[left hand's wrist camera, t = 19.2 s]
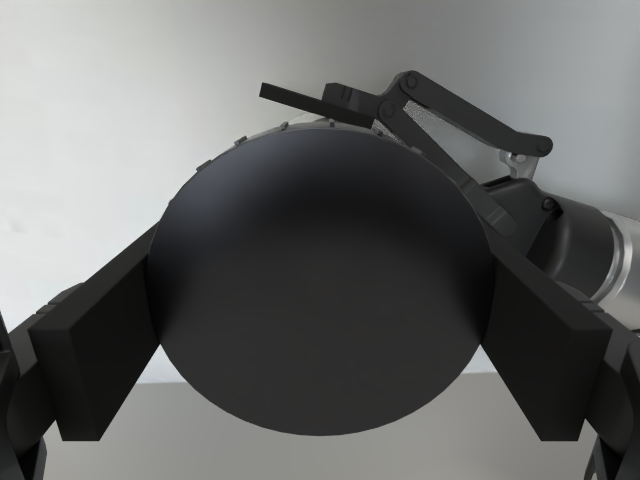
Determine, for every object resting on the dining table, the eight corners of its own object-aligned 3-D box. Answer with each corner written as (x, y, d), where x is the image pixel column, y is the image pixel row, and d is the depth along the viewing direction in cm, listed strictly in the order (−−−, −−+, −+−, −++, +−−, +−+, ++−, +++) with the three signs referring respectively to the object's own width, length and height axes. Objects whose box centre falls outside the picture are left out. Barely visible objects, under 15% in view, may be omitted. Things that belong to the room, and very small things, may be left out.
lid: (205, 412, 14) (191, 451, 12) (123, 143, 10) (90, 152, 9) (472, 385, 13) (491, 423, 12) (477, 96, 10) (504, 97, 8)
